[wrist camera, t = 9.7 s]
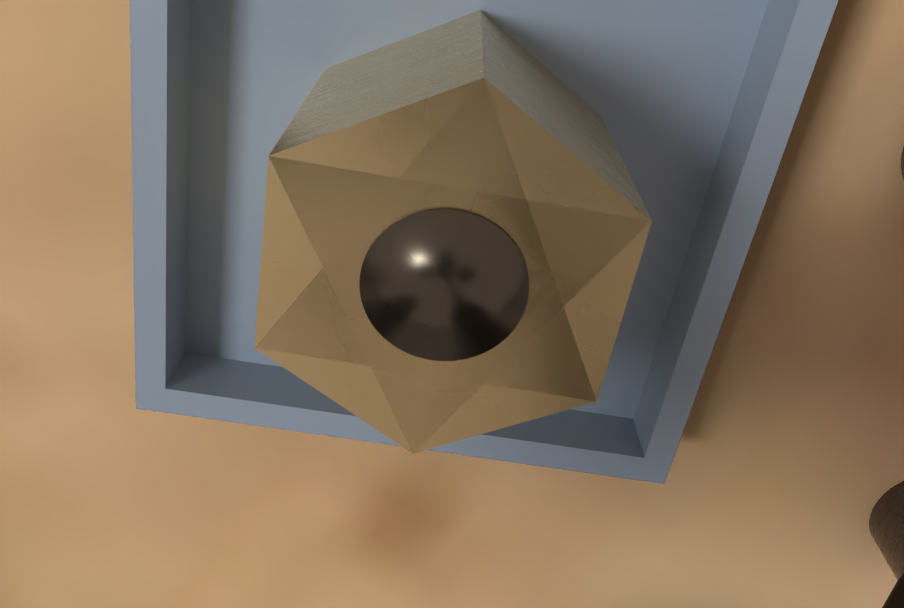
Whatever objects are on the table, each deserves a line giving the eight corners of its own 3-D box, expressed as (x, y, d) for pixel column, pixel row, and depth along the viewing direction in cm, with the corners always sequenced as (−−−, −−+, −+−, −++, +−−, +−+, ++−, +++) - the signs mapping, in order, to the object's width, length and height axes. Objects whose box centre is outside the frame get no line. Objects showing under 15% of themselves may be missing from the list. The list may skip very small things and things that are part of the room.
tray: (647, 427, 20) (664, 484, 18) (166, 357, 19) (136, 408, 18) (820, -91, 15) (867, -82, 13) (169, -212, 14) (126, -220, 12)
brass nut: (548, 323, 18) (573, 480, 14) (304, 284, 18) (247, 431, 13) (623, 36, 15) (685, 114, 11) (333, -17, 15) (276, 41, 11)
